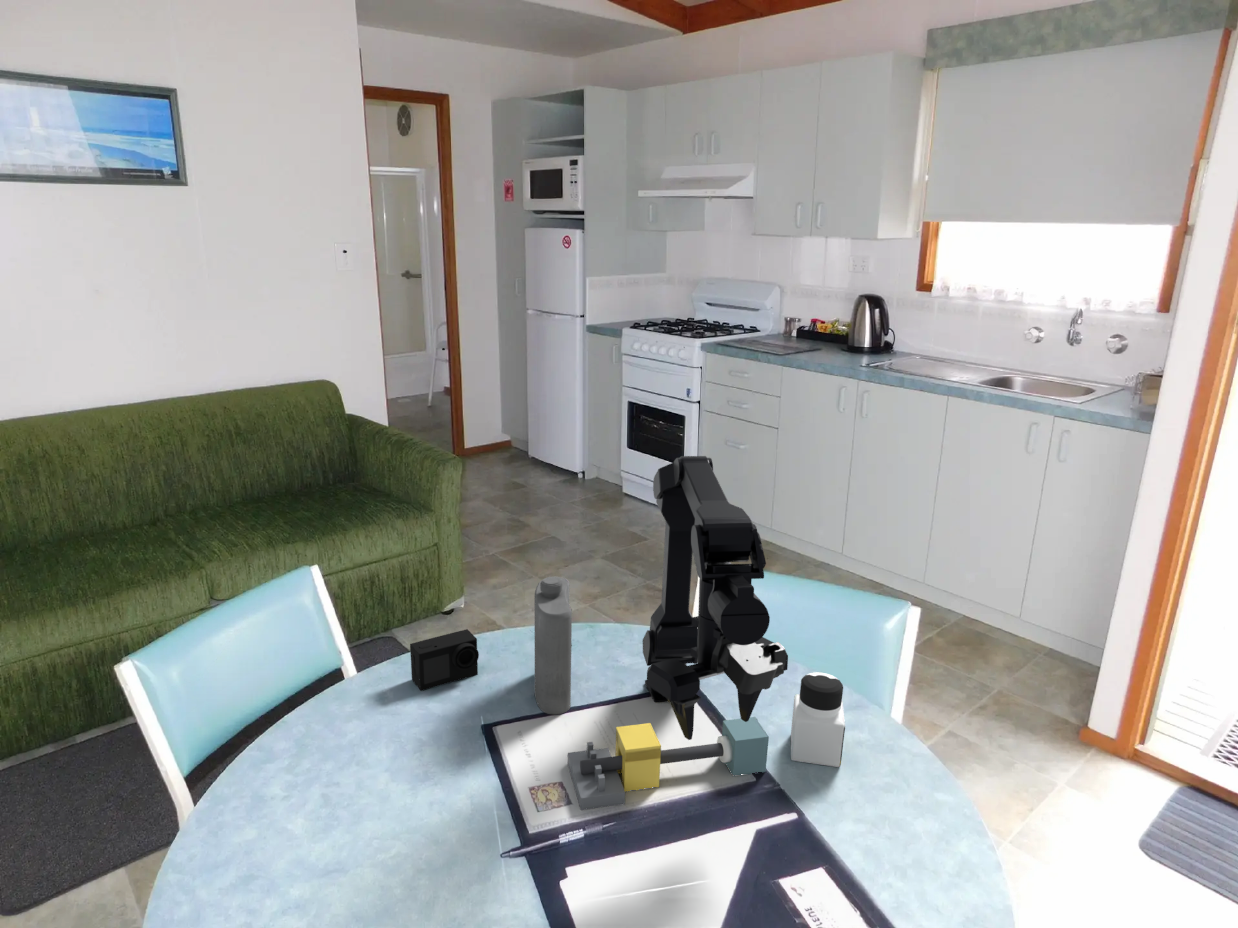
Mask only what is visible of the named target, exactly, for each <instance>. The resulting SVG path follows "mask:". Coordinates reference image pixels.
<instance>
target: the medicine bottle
mask: <svg viewBox="0 0 1238 928" xmlns="http://www.w3.org/2000/svg"><path fill="white" fill-rule="evenodd" d="M843 693H844V686H843V683H842V682H841V680H840V679H838V678H837V676H835V675H832V674H829V673H826V672H825V673H824V672H818V671H817V672H810V673H807V674H805V675H804V676H802V678H801V679H800V690H799V694H798V693H796V694H795V695H794V699H793V709H792V716H791V717H792V719H791V729H790V759H791V761H793V762H799V763H806V764H814V765H820V766H821V765H822V766H827V767H834V768H840V767H841V765H842V757H843V755H842V754H843V747H844V742H845V741H844V739H845V732H846V731H845V730H846V721H845V710H844V703H843V702H844V701H843Z"/></svg>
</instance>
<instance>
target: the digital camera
mask: <svg viewBox="0 0 1238 928" xmlns="http://www.w3.org/2000/svg"><path fill="white" fill-rule="evenodd" d="M409 652H410V670H411V681H413V683H414V685H415V686H416V687H417V688H418V689H419V691H425V690H429V689H433V688H436V687H439V686H442V685H447V684H450V683H454V682H458V681H460V680H464V679H467V678H470V677H473V676H474V677H475V676H476V675H478V674H479V669H478V664H479V663H478V661H479V656H480V653H479V650H478V638H477V637H476V636H475V635H474V634H473V633H472V632H471V631H470V629H468V628H467V629H463V630H457V631H454V632H450V633H446V634H442V635H438V636H435V637H432V638H426V639H424V640H420V641H416V642H413V643H412V642H411V643H410V644H409Z"/></svg>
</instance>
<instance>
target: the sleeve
mask: <svg viewBox="0 0 1238 928" xmlns="http://www.w3.org/2000/svg"><path fill="white" fill-rule="evenodd" d="M661 750H662V744H661V743H660V740H659V738H658V736H657V734H656V732H655V730H654V728H653V726H652V724H651V722H647V723H641V724H640V723H639V724H631V725H621V726H616V727H615V752H614V753H615V754H614V756H621V755H622V769H620V770H617V772H618V775H621V783H622V786H623V788H624V791H625V793H627V792H628V791H629V792H631V791H630V790H636V791H640V790H639V789H643V790H645V789H644V788H651V789H653V788H652V787H658V788H660V778H661V777H660V774H661V764H660V757H661ZM620 773H622V774H620ZM626 791H627V792H626Z"/></svg>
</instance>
